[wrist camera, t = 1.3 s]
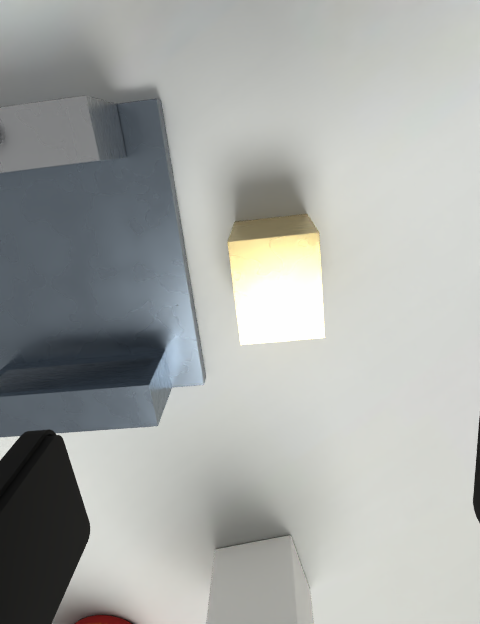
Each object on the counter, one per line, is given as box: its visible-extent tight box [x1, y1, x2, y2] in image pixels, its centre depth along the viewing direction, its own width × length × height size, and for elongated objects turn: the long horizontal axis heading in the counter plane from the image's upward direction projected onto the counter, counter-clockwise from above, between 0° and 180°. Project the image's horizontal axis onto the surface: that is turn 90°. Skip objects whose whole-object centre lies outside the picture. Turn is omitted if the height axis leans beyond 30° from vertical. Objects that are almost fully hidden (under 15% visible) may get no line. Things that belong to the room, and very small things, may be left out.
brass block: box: [228, 214, 325, 345], centre depth 23 cm, size 4×5×6 cm
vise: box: [0, 99, 206, 437], centre depth 23 cm, size 14×16×5 cm
